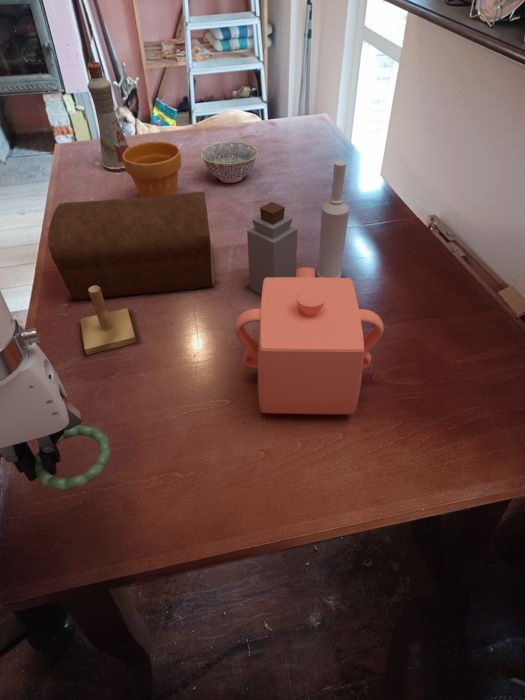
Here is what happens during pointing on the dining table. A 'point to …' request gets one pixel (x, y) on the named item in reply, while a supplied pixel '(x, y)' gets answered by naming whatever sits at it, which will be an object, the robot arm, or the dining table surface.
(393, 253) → the dining table surface
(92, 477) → the ring
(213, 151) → the bowl
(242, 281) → the dining table surface
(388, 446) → the dining table surface
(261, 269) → the perfume bottle
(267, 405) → the teapot
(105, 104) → the bottle
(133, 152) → the flower pot
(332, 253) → the bottle
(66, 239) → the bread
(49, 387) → the robot arm
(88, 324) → the stand
